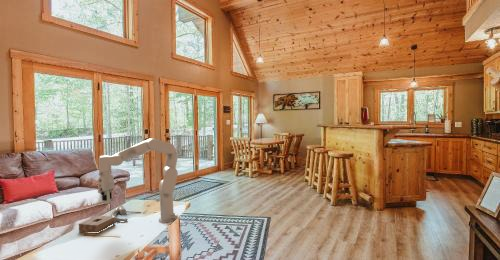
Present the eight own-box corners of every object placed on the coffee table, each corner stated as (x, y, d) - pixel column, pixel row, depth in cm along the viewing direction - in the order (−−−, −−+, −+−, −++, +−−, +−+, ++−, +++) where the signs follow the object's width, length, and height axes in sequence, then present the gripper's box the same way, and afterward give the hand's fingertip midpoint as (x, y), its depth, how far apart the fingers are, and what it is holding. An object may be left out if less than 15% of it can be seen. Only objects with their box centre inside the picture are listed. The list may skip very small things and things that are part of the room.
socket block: (115, 224, 193) (114, 216, 193) (97, 233, 178) (97, 225, 178) (97, 223, 197) (97, 215, 197) (79, 232, 182) (78, 223, 182)
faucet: (150, 212, 225) (137, 225, 197) (117, 210, 224) (100, 222, 197) (150, 207, 225) (137, 218, 197) (118, 204, 224) (100, 216, 196)
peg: (111, 202, 181) (110, 185, 181) (107, 204, 178) (106, 187, 177) (107, 202, 182) (106, 185, 181) (103, 203, 178) (102, 186, 178)
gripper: (100, 176, 170) (102, 203, 171) (118, 171, 186) (120, 196, 187) (91, 176, 172) (92, 203, 173) (110, 171, 188) (111, 195, 189)
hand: (107, 199), depth 180 cm, fingers closed on peg, 3 cm apart
